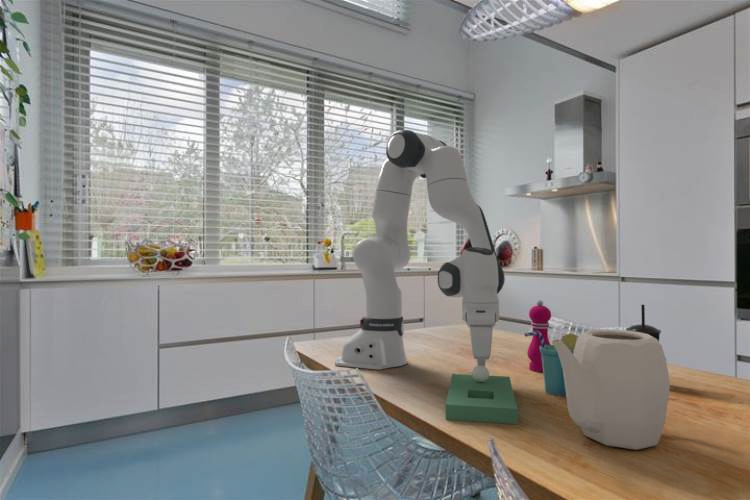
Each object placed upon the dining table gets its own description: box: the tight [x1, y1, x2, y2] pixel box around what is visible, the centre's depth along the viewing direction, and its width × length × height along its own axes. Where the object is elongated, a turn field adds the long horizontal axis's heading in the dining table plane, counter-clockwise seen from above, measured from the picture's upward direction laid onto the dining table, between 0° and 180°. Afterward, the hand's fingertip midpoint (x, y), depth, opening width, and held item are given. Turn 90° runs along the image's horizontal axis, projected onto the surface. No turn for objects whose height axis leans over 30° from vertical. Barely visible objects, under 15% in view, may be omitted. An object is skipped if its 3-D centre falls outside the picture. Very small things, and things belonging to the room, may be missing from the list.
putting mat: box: [445, 373, 519, 425], centre depth 102 cm, size 14×24×3 cm, turn 167°
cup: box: [524, 330, 579, 397], centre depth 109 cm, size 14×8×15 cm, turn 99°
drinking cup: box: [625, 304, 662, 341], centre depth 116 cm, size 8×8×20 cm
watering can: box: [550, 328, 671, 451], centre depth 81 cm, size 16×27×19 cm, turn 110°
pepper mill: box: [526, 299, 552, 373], centre depth 130 cm, size 7×7×20 cm
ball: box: [471, 364, 490, 382], centre depth 107 cm, size 4×4×4 cm
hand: (481, 369), depth 111 cm, fingers closed
